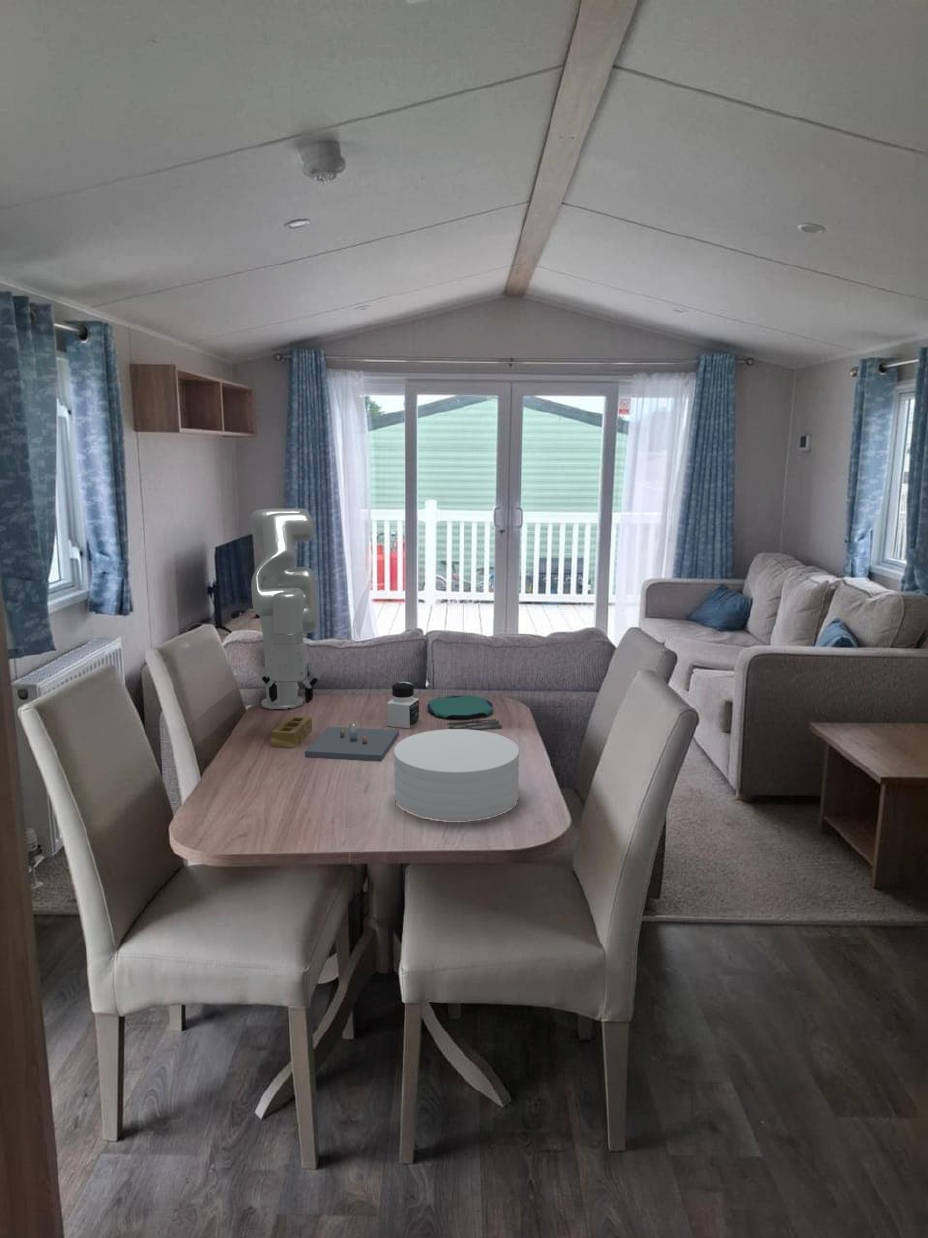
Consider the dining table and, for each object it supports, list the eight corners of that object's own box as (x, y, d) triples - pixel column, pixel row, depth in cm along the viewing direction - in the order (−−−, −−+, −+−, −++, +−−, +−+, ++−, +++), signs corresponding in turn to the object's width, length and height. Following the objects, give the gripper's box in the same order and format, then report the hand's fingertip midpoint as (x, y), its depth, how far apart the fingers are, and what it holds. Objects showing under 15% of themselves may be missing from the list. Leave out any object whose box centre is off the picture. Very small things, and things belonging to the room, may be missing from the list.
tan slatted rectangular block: (290, 729, 237) (289, 716, 236) (312, 730, 236) (311, 717, 235) (271, 746, 224) (271, 732, 223) (295, 747, 223) (294, 733, 222)
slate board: (328, 731, 235) (328, 726, 235) (398, 735, 233) (398, 730, 232) (305, 756, 216) (304, 751, 216) (381, 761, 213) (381, 755, 213)
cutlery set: (484, 699, 267) (484, 692, 267) (509, 731, 239) (509, 723, 238) (422, 704, 263) (422, 696, 263) (440, 736, 235) (439, 728, 234)
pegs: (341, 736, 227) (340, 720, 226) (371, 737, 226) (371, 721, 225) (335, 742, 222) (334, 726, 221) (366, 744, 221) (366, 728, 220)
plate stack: (368, 800, 190) (367, 751, 188) (449, 765, 211) (449, 721, 209) (464, 835, 172) (464, 782, 170) (542, 794, 193) (543, 746, 191)
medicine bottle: (410, 729, 238) (409, 688, 236) (386, 726, 240) (386, 685, 238) (419, 721, 245) (419, 681, 242) (396, 719, 247) (396, 679, 245)
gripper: (252, 640, 222) (255, 703, 225) (315, 642, 219) (317, 706, 222) (263, 635, 229) (265, 696, 232) (324, 636, 227) (326, 698, 230)
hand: (291, 701), depth 227 cm, fingers open, 9 cm apart
